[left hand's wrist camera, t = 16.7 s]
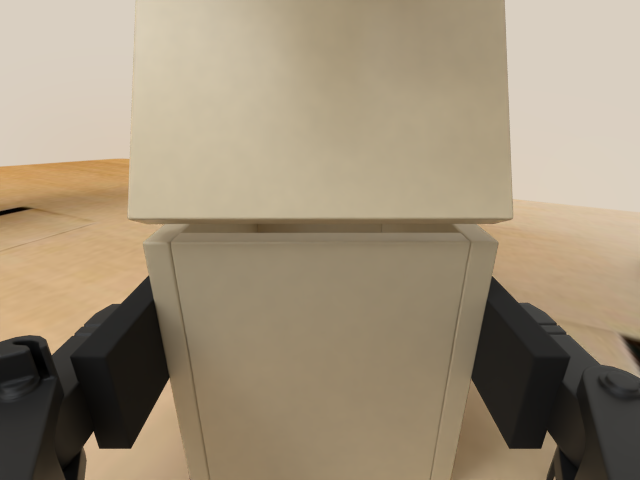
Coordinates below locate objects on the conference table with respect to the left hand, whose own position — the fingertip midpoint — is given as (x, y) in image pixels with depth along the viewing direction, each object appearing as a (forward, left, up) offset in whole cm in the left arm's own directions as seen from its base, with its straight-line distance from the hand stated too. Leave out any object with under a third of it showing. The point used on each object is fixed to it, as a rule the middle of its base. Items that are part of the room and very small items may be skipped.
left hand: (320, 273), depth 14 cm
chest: (+2, -1, -7) cm, 7 cm away
